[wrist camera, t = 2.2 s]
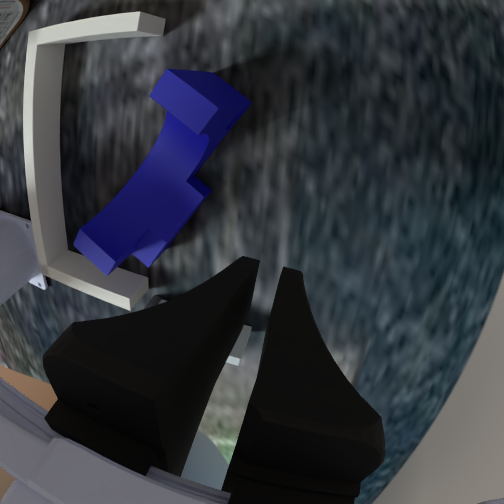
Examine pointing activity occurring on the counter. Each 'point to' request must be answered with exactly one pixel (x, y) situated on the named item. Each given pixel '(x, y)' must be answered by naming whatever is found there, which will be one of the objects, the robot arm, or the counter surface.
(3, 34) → the tin
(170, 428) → the robot arm
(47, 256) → the bracket
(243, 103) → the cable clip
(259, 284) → the counter surface
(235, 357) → the gate
